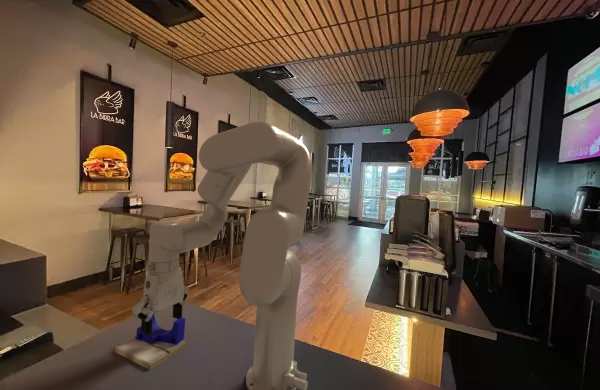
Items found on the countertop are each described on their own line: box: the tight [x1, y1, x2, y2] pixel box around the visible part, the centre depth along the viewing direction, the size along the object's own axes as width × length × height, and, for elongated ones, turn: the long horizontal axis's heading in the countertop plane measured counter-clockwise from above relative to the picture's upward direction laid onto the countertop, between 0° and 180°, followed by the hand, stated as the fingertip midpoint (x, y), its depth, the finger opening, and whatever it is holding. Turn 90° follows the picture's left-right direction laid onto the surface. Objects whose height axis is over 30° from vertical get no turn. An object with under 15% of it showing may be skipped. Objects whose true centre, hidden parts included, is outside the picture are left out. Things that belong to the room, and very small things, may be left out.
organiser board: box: [114, 336, 187, 371], centre depth 73 cm, size 14×11×2 cm
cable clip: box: [135, 311, 186, 345], centre depth 75 cm, size 12×4×6 cm, turn 77°
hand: (163, 325), depth 75 cm, fingers open, 9 cm apart
